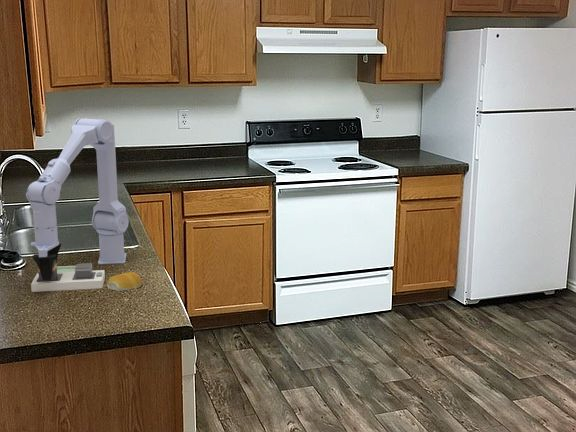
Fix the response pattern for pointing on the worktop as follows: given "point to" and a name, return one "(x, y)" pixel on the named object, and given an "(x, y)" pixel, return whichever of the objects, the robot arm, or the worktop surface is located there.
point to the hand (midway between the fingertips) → (49, 275)
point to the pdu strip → (72, 280)
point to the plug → (54, 274)
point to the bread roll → (124, 282)
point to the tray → (66, 268)
